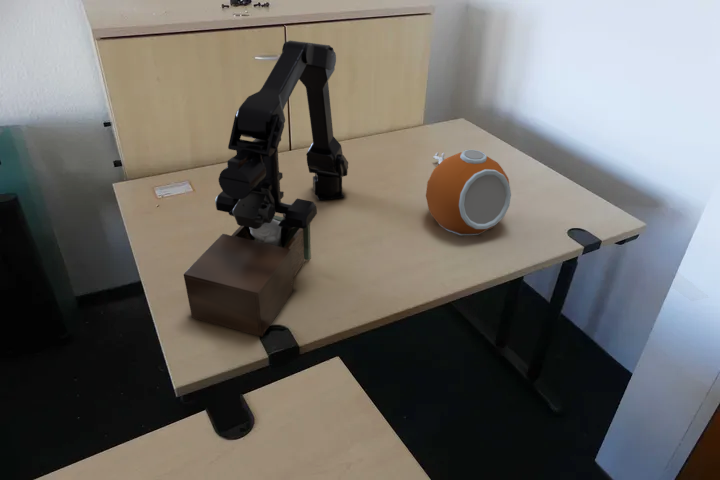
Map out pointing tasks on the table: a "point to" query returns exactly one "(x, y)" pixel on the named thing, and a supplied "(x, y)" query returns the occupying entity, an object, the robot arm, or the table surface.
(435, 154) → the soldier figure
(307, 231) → the drawer
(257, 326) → the cabinet
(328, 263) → the table surface
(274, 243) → the white carved sculpture
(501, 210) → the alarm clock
